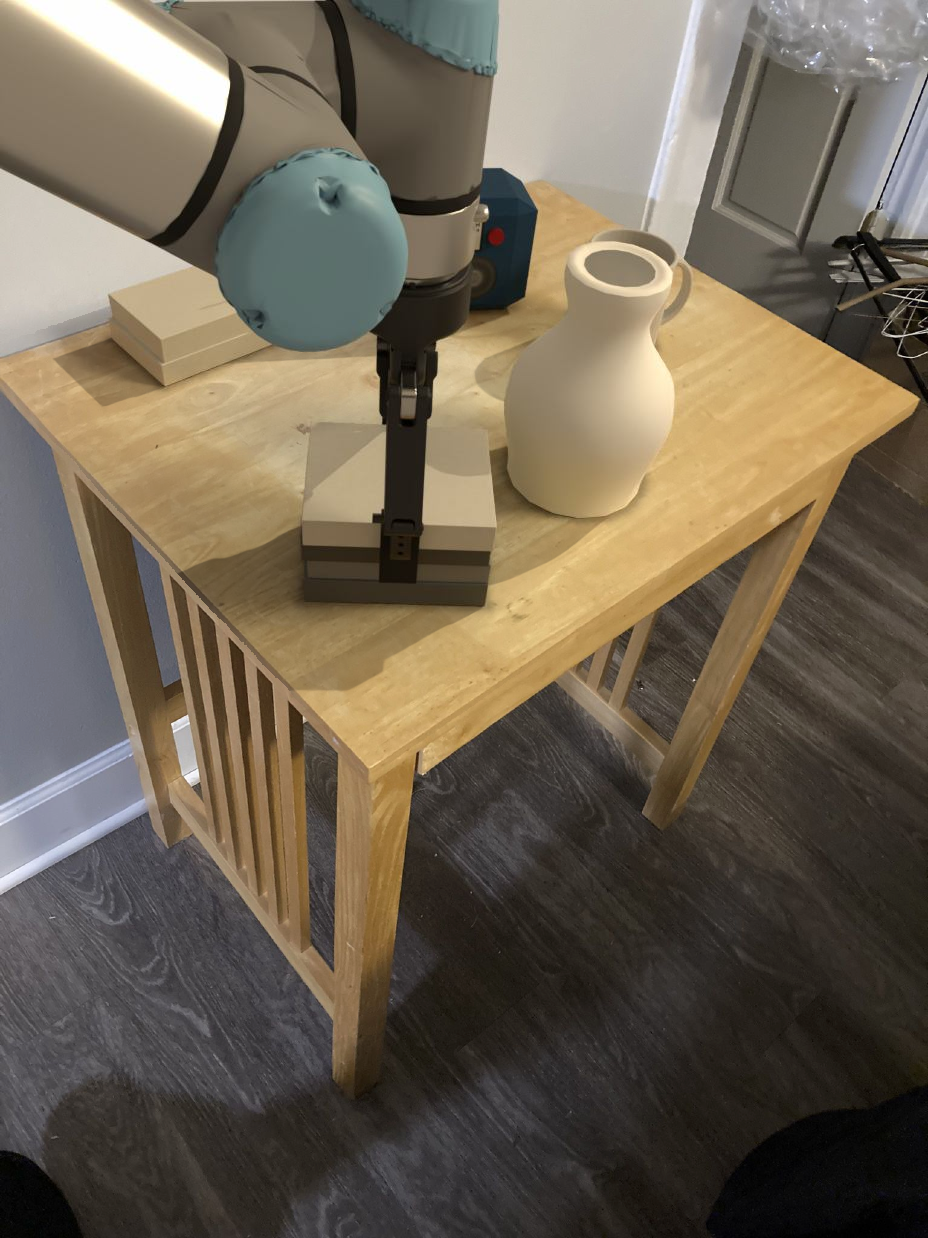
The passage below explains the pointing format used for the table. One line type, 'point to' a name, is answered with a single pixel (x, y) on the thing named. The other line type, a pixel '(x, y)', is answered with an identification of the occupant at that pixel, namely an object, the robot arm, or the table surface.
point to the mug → (665, 253)
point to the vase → (593, 387)
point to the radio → (502, 242)
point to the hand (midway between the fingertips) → (397, 521)
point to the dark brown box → (358, 581)
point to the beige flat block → (355, 479)
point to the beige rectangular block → (179, 325)
